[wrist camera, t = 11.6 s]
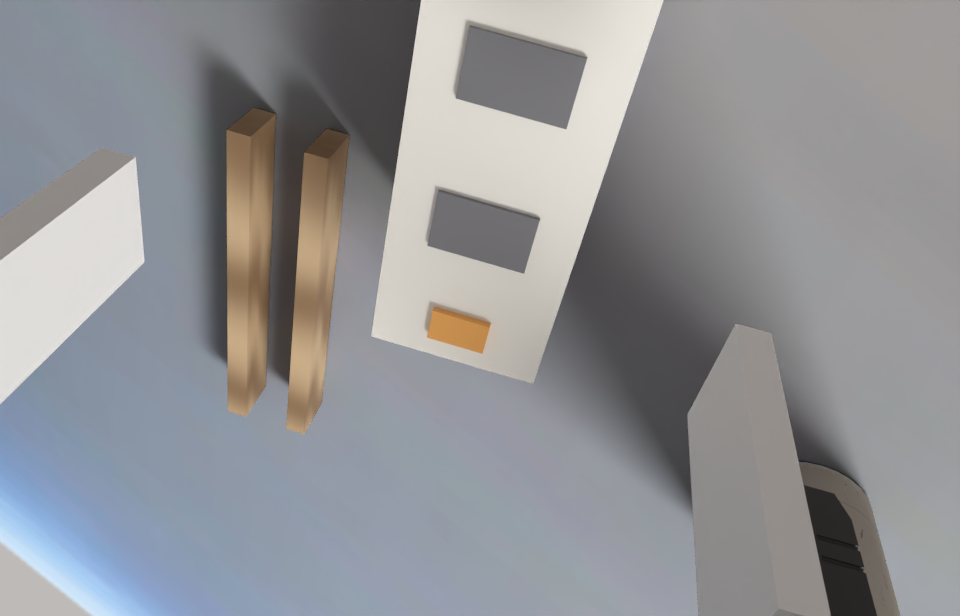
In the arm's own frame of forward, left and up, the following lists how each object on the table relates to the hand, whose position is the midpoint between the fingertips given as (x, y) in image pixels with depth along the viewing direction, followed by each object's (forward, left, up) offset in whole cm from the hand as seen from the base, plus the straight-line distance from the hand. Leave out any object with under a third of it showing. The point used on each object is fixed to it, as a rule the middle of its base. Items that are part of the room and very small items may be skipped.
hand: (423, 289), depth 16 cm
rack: (-9, -13, -15) cm, 21 cm away
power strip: (0, 0, -14) cm, 14 cm away
